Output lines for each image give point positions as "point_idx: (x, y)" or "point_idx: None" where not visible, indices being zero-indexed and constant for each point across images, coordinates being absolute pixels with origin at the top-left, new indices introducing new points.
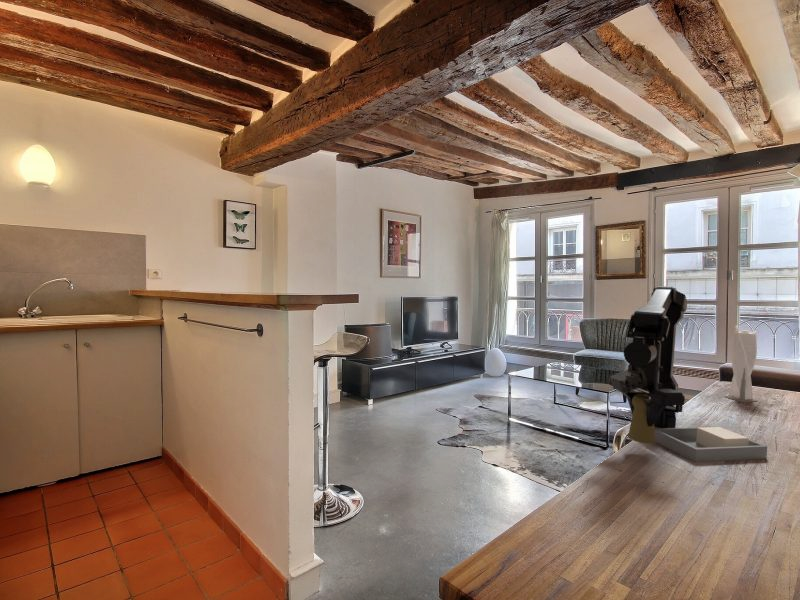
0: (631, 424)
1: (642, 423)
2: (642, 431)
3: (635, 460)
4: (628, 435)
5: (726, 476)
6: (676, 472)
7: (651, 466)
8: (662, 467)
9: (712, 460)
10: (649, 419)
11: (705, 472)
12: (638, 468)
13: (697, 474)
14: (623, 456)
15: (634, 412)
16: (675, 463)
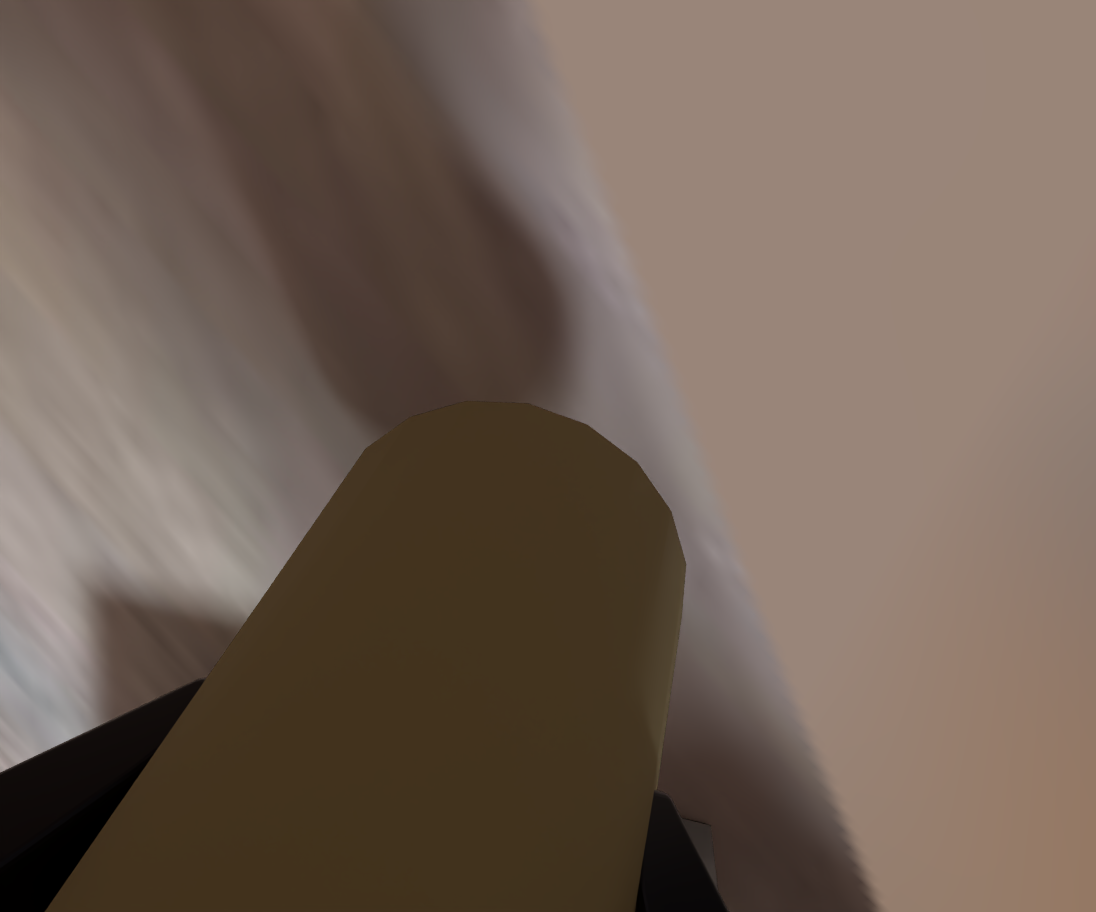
0: (550, 562)
1: (251, 635)
2: (313, 533)
3: (398, 254)
4: (623, 464)
5: (11, 723)
6: (89, 414)
7: (233, 292)
8: (199, 387)
9: None
10: (8, 776)
11: (79, 652)
12: (204, 75)
13: (46, 555)
14: (530, 206)
15: (416, 833)
16: (263, 595)
